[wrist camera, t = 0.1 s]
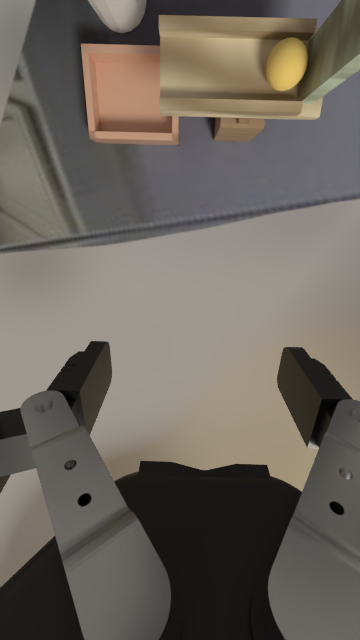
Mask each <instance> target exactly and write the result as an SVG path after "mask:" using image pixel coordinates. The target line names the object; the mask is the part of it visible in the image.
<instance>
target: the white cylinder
mask: <svg viewBox="0 0 360 640" xmlns="http://www.w3.org/2000/svg"><path fill="white" fill-rule="evenodd" d="M88 1H89V3H90V4H91V6H92V7H93V9H94V10H95V12H96V13H97V15H98V16H99V18H100V19H101V21H102V22H103V23H104V24H105V25H106V26H107V27H108V28H109V29H111V30H112V31H115V32H119V33H126V32H130V31H132V30H133V29H134V28H135V27H137V26H138V25H139V24H140V22H141V20H142V18H143V16H144V14H145V9H146V1H147V0H88Z"/></svg>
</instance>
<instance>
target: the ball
mask: <svg viewBox="0 0 360 640" xmlns="http://www.w3.org/2000/svg"><path fill="white" fill-rule="evenodd" d="M307 63H308V53H307V49H306V46H305V45H304V43H303V42H302V41H301V40H300V39H298V38H294V37H290V38H286V39H284V40H282V41H280V42H279V43H278V44H277V45H276V46H275V47H274V48H273V50H272V51H271V53H270V55H269V57H268V60H267V63H266V78H267V81H268V83H269V85H270V86H271V87H272V88H273V89H275V90H277V91H286V90H289V89H291V88H293V87H294V86H295V85H296V84H297V83H298V82H299V81H300V80H301V78H302V77H303V75H304V73H305V70H306V67H307Z"/></svg>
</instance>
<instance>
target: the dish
mask: <svg viewBox="0 0 360 640" xmlns="http://www.w3.org/2000/svg"><path fill="white" fill-rule="evenodd" d="M81 52H82V62H83V73H84V84H85V95H86V106H87V117H88V127H89V138H90V139H92V140H93V141H95V142H96V143H117V144H153V145H179V116H161V113H160V110H159V98H160V46H153V45H114V44H81Z"/></svg>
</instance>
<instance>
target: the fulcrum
mask: <svg viewBox="0 0 360 640" xmlns="http://www.w3.org/2000/svg"><path fill="white" fill-rule="evenodd" d="M264 125H265V118H228V117H215V128H214V141H250V140H252V139H253V138H254V137H255V136H256V135H257V134H258V133H260V132H261V131H262V130H263V129H264Z"/></svg>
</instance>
